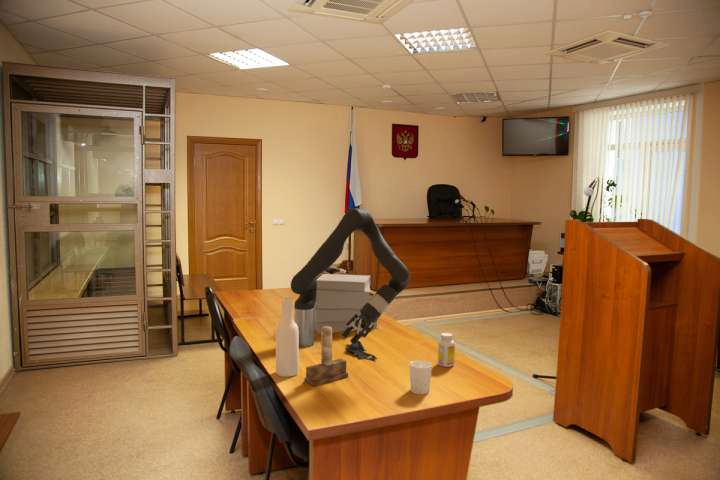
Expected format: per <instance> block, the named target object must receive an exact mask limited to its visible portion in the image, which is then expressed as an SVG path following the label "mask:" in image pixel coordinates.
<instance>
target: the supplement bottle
mask: <svg viewBox="0 0 720 480" xmlns="http://www.w3.org/2000/svg"><path fill="white" fill-rule="evenodd" d="M453 336H454V335H453V334H452V333H450V332H443V333H441V334H440V338H441V339H439V341H438V352H437V355H438V356H437V357H438V358H437V364H438V365H439V366H441V367H445V368H450V367H453V366H455V348H456V343H455V341H454V340H453Z"/></svg>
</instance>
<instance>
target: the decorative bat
mask: <svg viewBox="0 0 720 480" xmlns="http://www.w3.org/2000/svg"><path fill="white" fill-rule="evenodd" d="M346 350H347V351H348V352H349V353H352V354H353V356H358V359H361V360H377V359H378V358H377V356H376V355H374V354H371V353H368V352H367V350H366V348H365V347H364V346H363V344H362V343H361V341H360V339H359V340H358V341H357V342H356V343H355V345H353V344H352V343H350V344H348V343H346Z"/></svg>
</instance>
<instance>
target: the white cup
mask: <svg viewBox="0 0 720 480" xmlns="http://www.w3.org/2000/svg"><path fill="white" fill-rule="evenodd" d="M432 367H433V366H432V363H431V362H430V361H427V360H412V361H410V362H409V382H410V391H411V393H413V394H415V395H427V394H429V393H430V390H431V389H430V388H431V381H432V369H433V368H432Z"/></svg>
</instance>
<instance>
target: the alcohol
mask: <svg viewBox="0 0 720 480" xmlns="http://www.w3.org/2000/svg"><path fill="white" fill-rule="evenodd" d="M280 315H281V317H280V322H279V323H278V324H277V325H276V329H275V373H276V374H277V376H279V377H280V378H281V377H282V378H292V377H295V376H297V375H298V373H299V367H300V365H299V360H300V359H299V356H300V355H299V354H300V352H299V350H300V349H299V347H300V346H299V330H298V326H297V324H296V323H295V319H294V312H293V298H292V297H290V296H289V297H282V299H281V314H280Z"/></svg>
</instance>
